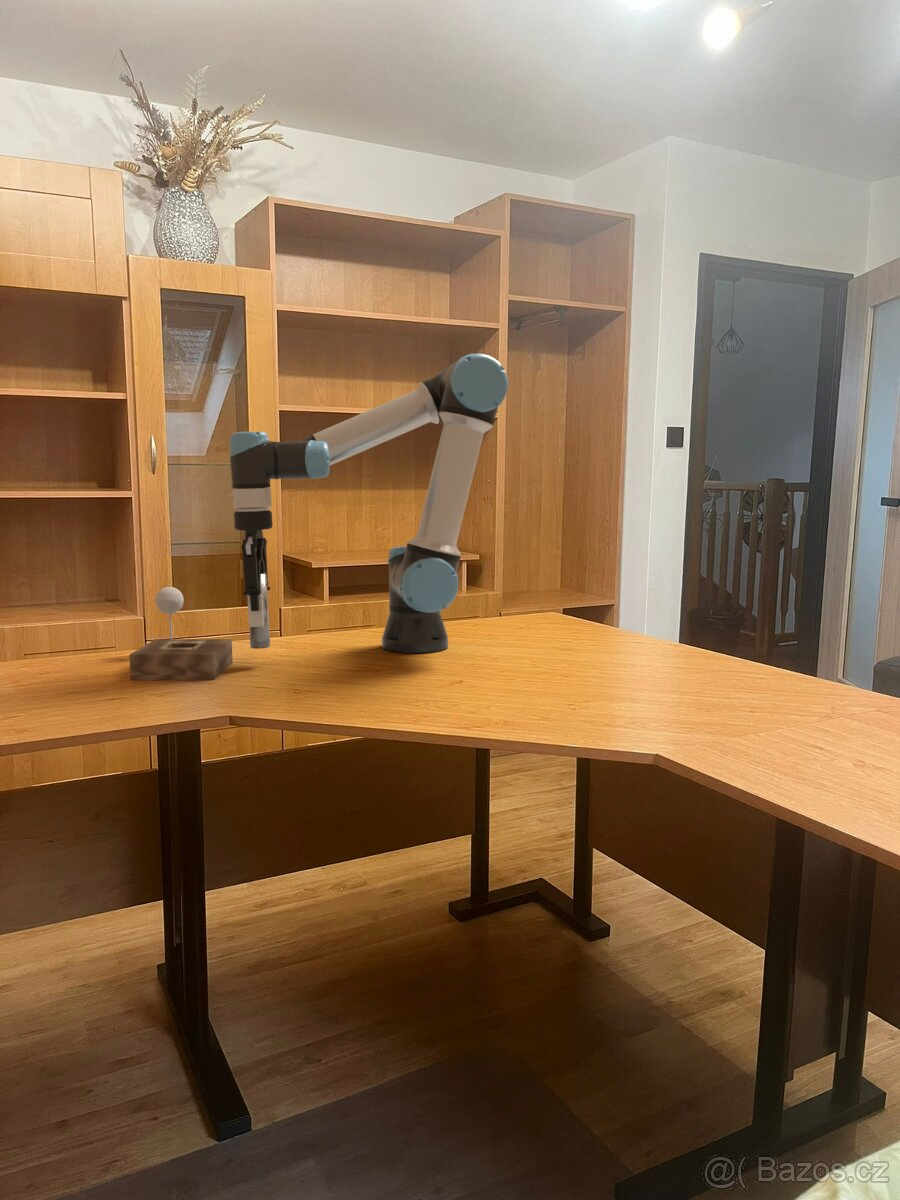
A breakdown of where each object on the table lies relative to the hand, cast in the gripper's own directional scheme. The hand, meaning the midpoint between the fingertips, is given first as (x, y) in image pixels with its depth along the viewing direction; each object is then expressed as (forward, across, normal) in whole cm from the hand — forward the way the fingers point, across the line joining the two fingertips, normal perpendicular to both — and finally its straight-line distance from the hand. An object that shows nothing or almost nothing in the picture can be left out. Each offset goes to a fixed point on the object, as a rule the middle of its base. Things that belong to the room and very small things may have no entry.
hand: (259, 624), depth 184 cm
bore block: (+8, +4, -15) cm, 18 cm away
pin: (+5, 0, 0) cm, 5 cm away
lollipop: (+9, -12, -22) cm, 26 cm away
